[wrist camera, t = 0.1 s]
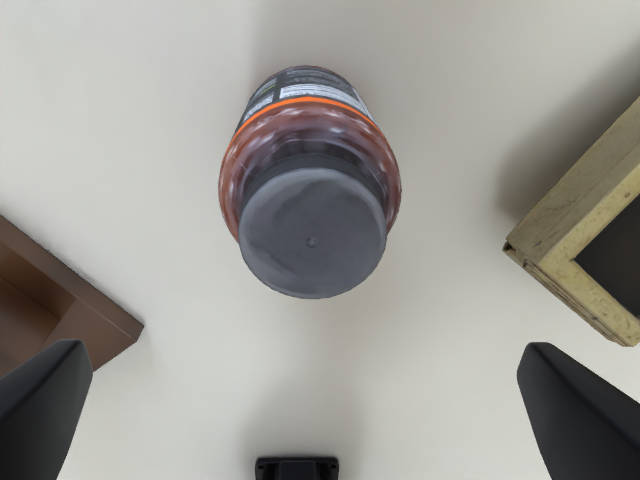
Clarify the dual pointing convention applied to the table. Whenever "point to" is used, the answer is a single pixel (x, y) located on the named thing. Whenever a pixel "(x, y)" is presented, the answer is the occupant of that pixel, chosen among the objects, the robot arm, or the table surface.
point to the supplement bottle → (309, 185)
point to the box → (592, 234)
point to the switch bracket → (53, 306)
